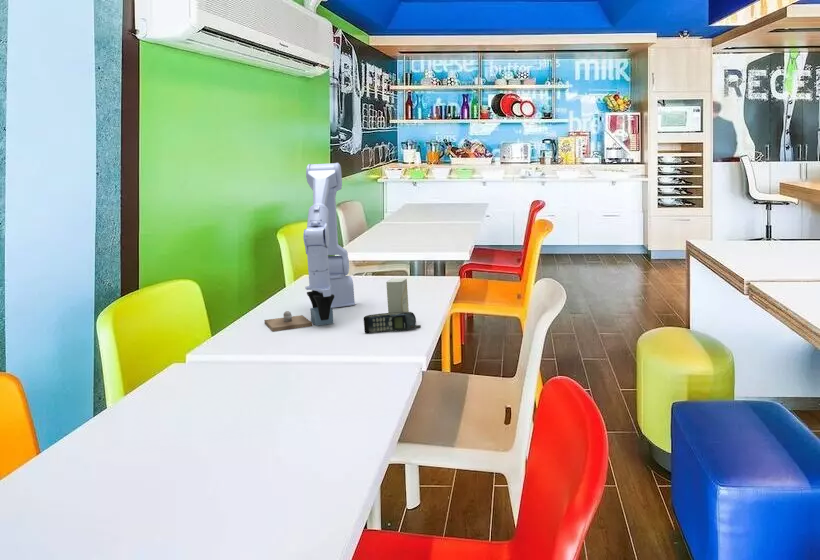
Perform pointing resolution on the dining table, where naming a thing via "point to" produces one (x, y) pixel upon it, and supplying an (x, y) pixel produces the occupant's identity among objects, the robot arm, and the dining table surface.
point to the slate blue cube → (316, 318)
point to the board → (288, 322)
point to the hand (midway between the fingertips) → (321, 317)
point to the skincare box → (397, 295)
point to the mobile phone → (390, 322)
